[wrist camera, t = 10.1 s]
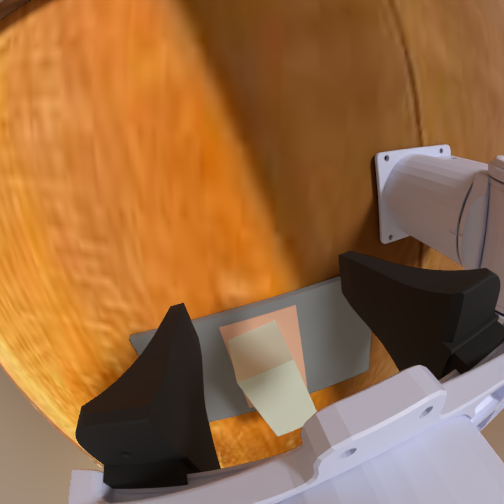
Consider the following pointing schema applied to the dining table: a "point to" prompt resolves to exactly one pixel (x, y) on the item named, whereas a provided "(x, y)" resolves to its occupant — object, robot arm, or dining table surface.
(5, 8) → the fruit rim
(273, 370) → the block
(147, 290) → the dining table surface
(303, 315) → the mat
